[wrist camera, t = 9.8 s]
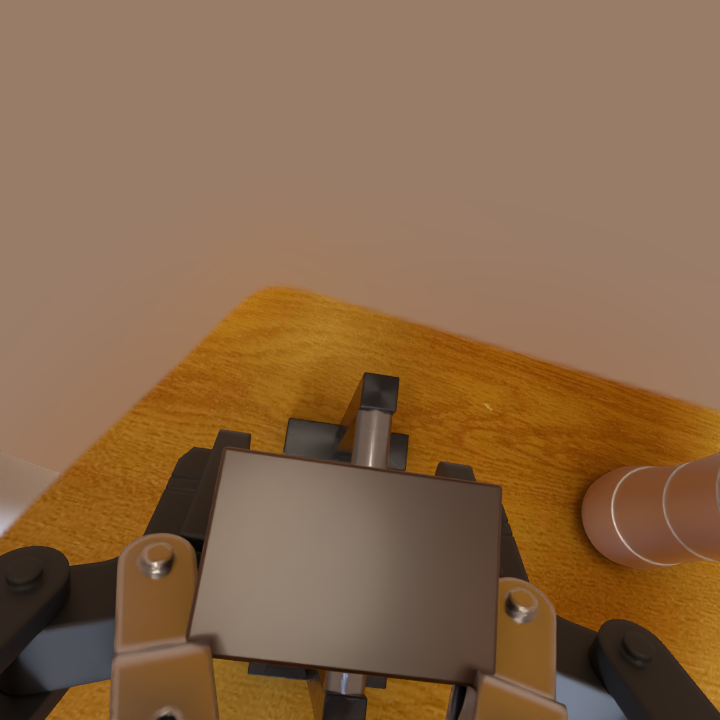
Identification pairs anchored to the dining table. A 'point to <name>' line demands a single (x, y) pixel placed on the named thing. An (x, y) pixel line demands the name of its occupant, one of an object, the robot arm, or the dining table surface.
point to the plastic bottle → (656, 514)
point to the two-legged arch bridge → (349, 569)
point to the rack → (359, 447)
